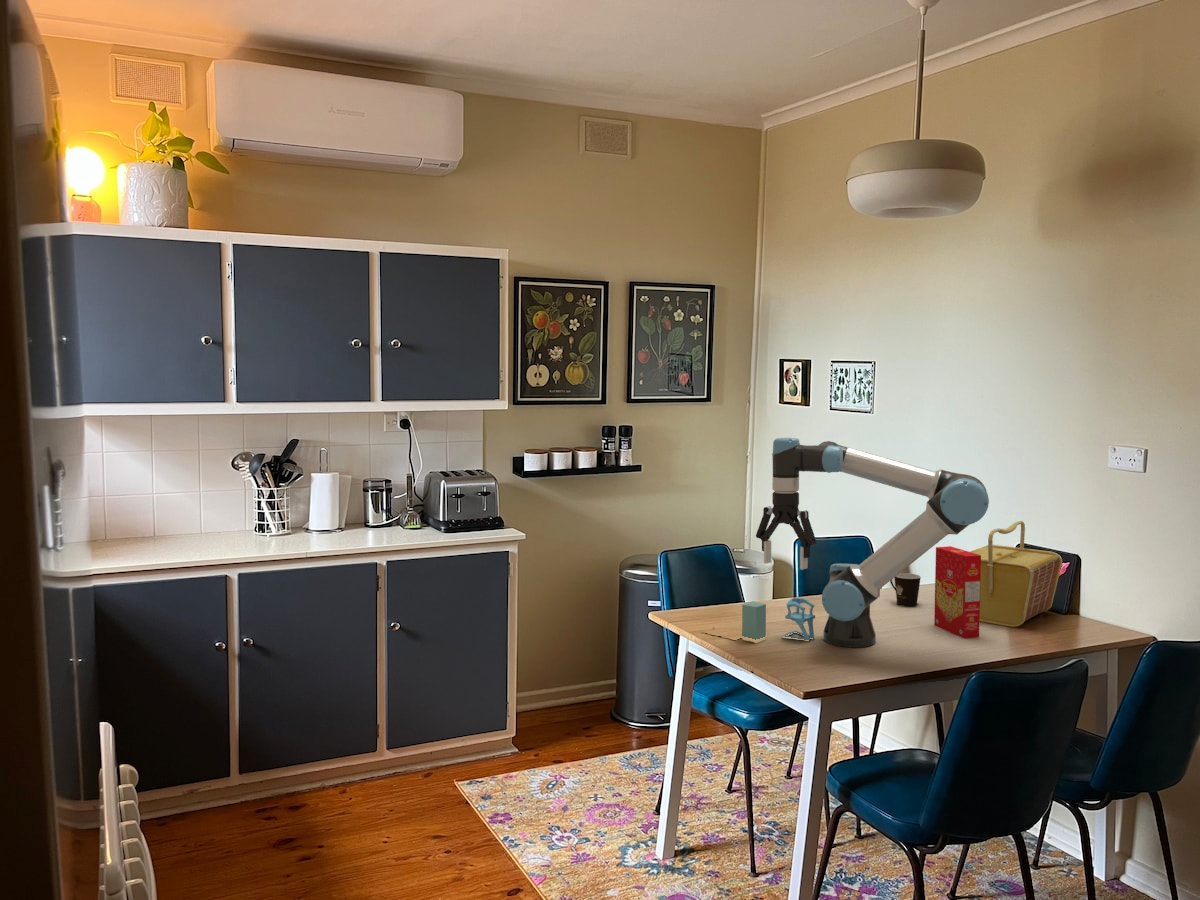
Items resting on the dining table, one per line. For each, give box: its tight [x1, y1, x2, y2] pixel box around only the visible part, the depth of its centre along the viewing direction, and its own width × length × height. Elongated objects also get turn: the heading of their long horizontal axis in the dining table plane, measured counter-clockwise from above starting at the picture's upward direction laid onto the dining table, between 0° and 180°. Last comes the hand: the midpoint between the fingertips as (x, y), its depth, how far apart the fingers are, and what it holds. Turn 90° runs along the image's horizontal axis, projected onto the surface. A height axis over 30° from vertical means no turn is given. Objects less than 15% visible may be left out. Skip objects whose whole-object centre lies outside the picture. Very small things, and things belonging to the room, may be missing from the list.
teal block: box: [741, 601, 767, 640], centre depth 274 cm, size 5×5×11 cm
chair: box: [781, 597, 816, 641], centre depth 276 cm, size 8×8×12 cm
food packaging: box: [933, 545, 981, 639], centre depth 281 cm, size 15×5×25 cm, turn 14°
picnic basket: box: [969, 520, 1063, 628], centre depth 298 cm, size 29×26×30 cm
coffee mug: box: [889, 572, 922, 608], centre depth 315 cm, size 12×9×10 cm
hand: (785, 565), depth 265 cm, fingers open, 12 cm apart
